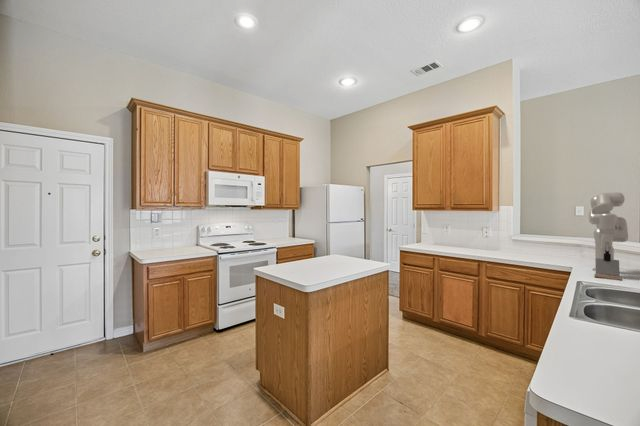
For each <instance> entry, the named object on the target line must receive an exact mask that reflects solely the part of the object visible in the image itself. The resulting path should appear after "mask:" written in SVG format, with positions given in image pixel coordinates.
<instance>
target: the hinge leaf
mask: <svg viewBox="0 0 640 426" xmlns="http://www.w3.org/2000/svg"><path fill="white" fill-rule="evenodd" d="M595 274H602V275H611V276H620V274H621V273H620V260H619V259H614V260H604V259H598V258H596V271H595ZM620 277H621V276H620Z"/></svg>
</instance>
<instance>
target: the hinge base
mask: <svg viewBox="0 0 640 426" xmlns="http://www.w3.org/2000/svg"><path fill="white" fill-rule="evenodd" d="M594 279H602V280H603V279H604V280H605V279H606V280H611V281H612V280H613V281H620V282H621V281H623V279H622V276H612V275H603V274H596V273H594Z"/></svg>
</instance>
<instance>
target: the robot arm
mask: <svg viewBox="0 0 640 426" xmlns="http://www.w3.org/2000/svg"><path fill="white" fill-rule="evenodd" d="M589 202H590V207H591V209H590V210H589V212H588V222H589V223H590V224H591V225H595V226H596V229H594V231H593V236H594V237H593V238H594V239H593V240H594V243H595V245H594V247H595V249H594V250H595V251H594V252H595V266H594V267H593V268H592V271H595V272H596V258H598V259H604V260H615V258H614V257H615V255H614V254H615V252H614V246H613V242H614V243H615V242H616V243H624V242H627V241H628V240H629V232H628V223H627V220H626V218H624V217H621V216H618V215H616V214H615V213H611V211H612V210H613V209H614V208H616V207H617V208H619V207H622V206H623V204H624V203H625V196H624V194H623V193H622V192H602V193H599V194H597V195H596V196H593V197H591V199H590V201H589Z"/></svg>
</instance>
